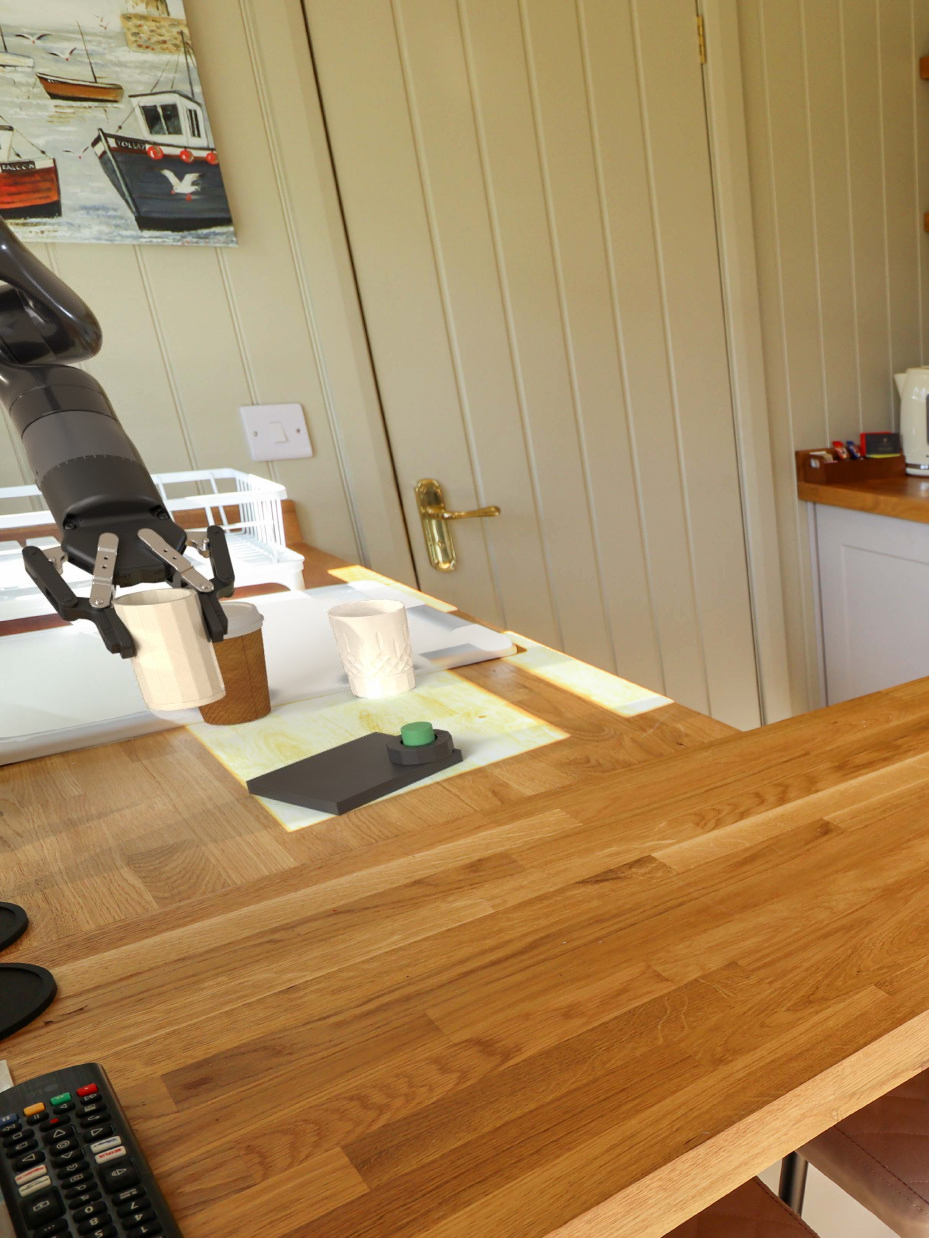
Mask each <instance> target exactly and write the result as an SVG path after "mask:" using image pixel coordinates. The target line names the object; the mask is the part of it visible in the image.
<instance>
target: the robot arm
mask: <svg viewBox="0 0 929 1238" xmlns="http://www.w3.org/2000/svg"><path fill="white" fill-rule="evenodd" d="M0 282H3V284H0V402H1V404H2V405H3V407H4V409H5V410H6V412H7V414H8V416H9V418H10V420H11V423H12V425H13V427H14V429H15V431H16V434H17V435H18V438H19V440H20V441H21V443H22V446H23V448H24V451H25V456H26V460H27V463H28V466H29V469H30V471H31V474H32V475H33V476H32V477H33V478H34V484H35V486H36V488H37V489H38V491H39V492H40V493H41V494H42V497H43V499H44V501H45V503H46V505H47V507H48V510H49V512H50V514H51V516H52V517H53V520H54V522H55V525H56V526H57V528H58V531H59V533H60V535H61V537H62V538H61V540H60V545H58V546H57V545H56V546H53V547H50V548H45V549H41V548H39V546H36V545H26V546H24V547H22V549H21V556H22V560H23V561H22V562H23V565H24V571H25V572H26V573H27V575H28V576H29V577H30V579H31V580H32V582H33V583H34V584H35V586H36V587H37V588H38V589H39V591H40V592H41V593H42V595H43V596H44V597H45V598H46V600H47V601H48V602H49V604H50V605H51V606H52V608H53V609H54V610H55V612H56V613H57V615H59V617H60V618H61V620H63V621H65V622H70V623H72V622H76V621H78V620H86V621H90V622H92V623H93V624H94V625H95V627H96V629H97V632H98V633H99V636H100V637H101V640H102V642H103V644H104V646H105V648H106V650H107V651H108V652H109V653H111V655H115V654H116V655H117V654H119V656H120V657H121V659H122V660H125V659H130V658H132V657H133V647H132V644H131V641H130V639H129V637H128V635H127V633H126V631H125V628H124V626H123V624H122V622H121V620H120V618H119V616H118V615H117V613H116V611H115V609H114V608H113V606H112V603H111V601H113V600H114V599H115V598H116V595H117V589H118V587H119V588H120V589H125V588H131V587H134V586H137V585H140V584H160V583H166V584H167V585H168V586H170V588H186V589H192V590H195V591H196V592H197V594H198V597H199V601H200V604H201V607H202V611H203V614H204V618H205V621H206V625H207V628H208V631H209V635H210V638H211V640H212V642H213V643H218V642H223V641H224V635H227V634H228V619H227V617H226V615H225V613H224V611H223V609H222V607H221V605H220V603H219V602H220V600H221V599H223V598H225V599H229V598H232V597H234V596H235V581H236V575H235V571H234V566H233V562H232V558H231V554H230V550H229V546H228V542H227V537H226V534H225V530H224V528H223V527H221V526H220V525H217V524H212V525H209V526H207V528H206V531H205V530H204V531H203V530H200V531H199V530H198V531H197V530H196V531H194V530H192V531H190V530H189V531H187V530H185V529H184V528H183V527H181V526H180V525H179V524H177V523H176V522H175V521H174V520H173V519H172V517H171V515H170V512H169V511H168V509H167V506H166V505H165V502H164V500H163V498H162V496H161V494H160V492H159V490H158V488H157V486H156V484H155V482H154V480H153V477H152V476H151V473H150V472H149V470H148V467H147V466H146V463H145V461H144V459H143V457H142V456H141V454H140V452H139V450H138V448H137V446H136V445H135V444H134V442H133V441H132V439H131V437H130V436H129V435H128V434H127V432H126V430H125V429H124V427H123V424H122V423H121V421H120V419H119V417H118V415H117V413H116V410H115V409H114V406H113V404H112V401H111V400H110V398H109V396H108V393H107V392H106V391H105V389H104V386H103V385H102V384H101V383H100V382H99V380H97V378H95V377H94V376H93V375H92V374H90V373H89V372H87V371H86V370H83V369H81V368H78V367H76V366H72V365H74V364H78V363H82V362H86V361H90V360H92V359H94V358H95V357H97V356H98V355H99V353H100V351H101V350H102V348H103V347H102V346H103V341H104V335H103V330H102V327H101V325H100V322H99V320H98V318H97V316H96V315H95V313H94V312H93V310H92V309H91V307H90V306H89V305H88V303H86V302H85V300H83V298H82V297H80V295H78V293H77V292H75V290H74V289H72V288H71V286H69V285H68V284H67V283H66V282H65V281H64V280H62V279H61V278H60V277H59V276H58V275H57V274H56V273H54V272H53V271H52V270H51V269H50V268H48V266H47V265H46V264H45V263H43V262H42V261H41V260H40V259H39V258H38V257H37V256H36V255H35V254H34V253H33V252H32V251H31V250H30V249H29V248H28V247H27V246H26V245H25V244H24V243H23V242H22V241H21V239H20V238H19V237H18V236H17V235H16V234H15V232H14V231H13V230H12V228H11V227H10V226H9V225H8V224H7V222H6V221H5V220H4V217H3V216H2V215H1V214H0ZM4 283H5V284H4ZM187 547H191V548H193V549H195V550H196V551H197V553H198V555H200V556H202V557H203V558H204V559H209V563H210V566H211V571H212V576H213V577H212V578H210V579H208V578H207V577H205V576H204V575H203V574H201V572H199V571H198V570H197V569H196V568H195V567H194V565H193V563H192V562H191V561H190V560H189V559H187V558H186V557H185V556H184V553H185V552H186V550H187ZM66 562H67V563H69V564H71V565H72V566H74V567H76V568H77V569H79V570H82V571H83V572H85V573H87V574H89V575H91V576H92V583H91V588H90V595H89V597H85V596H77V595H76V593H75V592H74V591H73V589H72V588H71V587H70V586H69V584H68V583H67V582H66V580H65V579H64V577H63V576H62V575H63V574H64V567H63V564H64V563H66Z"/></svg>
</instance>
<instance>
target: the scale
mask: <svg viewBox="0 0 929 1238" xmlns="http://www.w3.org/2000/svg"><path fill="white" fill-rule="evenodd" d="M433 731H434V736H435V741H433V742H431V743H428V744H423V745H419V746H406V745H404V743H403V738H402V734H401V733H400V734H397V735H394V734H389V733H384V732H380V731H373V732H370V733H368V734H366V735H363V736H361V737H358V738H355V739H352V740H350V741H347V742H345V743H341V744H338V745H337V746H334V747H331V748H329V749H326V750H323V751H321V752H318V753H316V754H313V755H311V756H307V757H305V758H303V759H300V760H297V761H295V762H293V763H292V762H291V763H289V764H286V765H284V766H281V767H279V768H277V769H274V770H271V771H268V772H265V773H263V774H261V775H258V776H256V777H253V778H251V779H248V780H246V781H245V784H246V787H247V790H248V794H250V795H253V796H258V797H261V798H265V799H269V800H273V801H278V802H280V803H284V804H289V805H293V806H296V807H297V806H298V807H301V808H305V809H308V810H313V811H317V812H321V813H324V814H329V815H333V816H337V817H341V816H344V815H345V814H347V813H350V812H352V811H354V810H356V809H358V808H361V807H363V806H366V805H368V804H370V803H372V802H375V801H377V800H379V799H381V798H383V797H386V796H388V795H390V794H392V793H395V792H397V791H400V790H402V789H404V788H406V787H408V786H411V785H413V784H416V783H417V782H419V781H422V780H424V779H427V778H428V777H431V776H433V775H435V774H438V773H440V772H443V771H445V770H447V769H449V768H452V767H454V766H456V765H459V764H460V763H463V762H464V758H463V753H462V749H460V748H455V744H454V738H453V735H452V734H451V733H450V732H449V731H448V730H445V729H440V728H433Z"/></svg>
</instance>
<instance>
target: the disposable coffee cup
mask: <svg viewBox="0 0 929 1238" xmlns="http://www.w3.org/2000/svg"><path fill="white" fill-rule="evenodd" d="M219 603H220V605H221V607H222V609H223V611H224V613H225V615H226V617H227V619H228V634H227V635H224V641H223V642H218V643H213V642H212V640H211V642H212V645H213V649H214V652H215V655H216V659H217V662H218V666H219V669H220V672H221V676H222V679H223V683H224V686H225V687H224V688H225V692H226V694H225V696H224V697H223V698H221V699H219V700H217V701H215V702H213V703H210V704H207V705H203V706H199V707H197V709H198V711H199V714H200V716H201V717H202V719H203V722H204V723H205V724H208V725H211V726H233V725H241V724H245V723H250V722H254V721H256V720H259V719H262V718H264V717H267V716H268V715H269V714H270V713H271V712H272V707H271V706H272V705H271V698H270V689H269V688H270V687H269V681H268V671H267V665H266V655H265V646H264V638H263V630H262V629H263V626H264V621H265V616H264V615H263V614H262V613H260V611H259V609H258V607H257V606H256V605H255V604H254V603H252V602H247V601H235V600H232V601H219Z"/></svg>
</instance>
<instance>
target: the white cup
mask: <svg viewBox="0 0 929 1238" xmlns="http://www.w3.org/2000/svg"><path fill="white" fill-rule="evenodd" d="M406 609H407V608H406V604H405V603H404V602H402V601H399V600H393V599H369V600H360V601H353V602H348V603H344V604H343V603H342V604H340V605H336V606H334V607H332V608H330V609H328V611H327V616H328V620H329V623H330V626H331V630H332V634H333V637H334V640H335V644H336V647H337V650H338V653H339V657H340V659H341V662H342V663H341V664H342V665H343V669H344V671H345V672H346V674H347V679H348V682H349V686H350V689H351V692H352V695H354V696H356V697H358V698H365V699H379V698H381V699H382V698H389V697H392V696H393V697H395V696H399V695H402V694H405V693H408V692H410V691H411V690H413V689H415V688H416V686H417V684H416V675H415V669H414V664H415V663H414V656H413V648H412V641H411V635H410V629H409V628H410V627H409V623H408V615H407V610H406Z"/></svg>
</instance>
